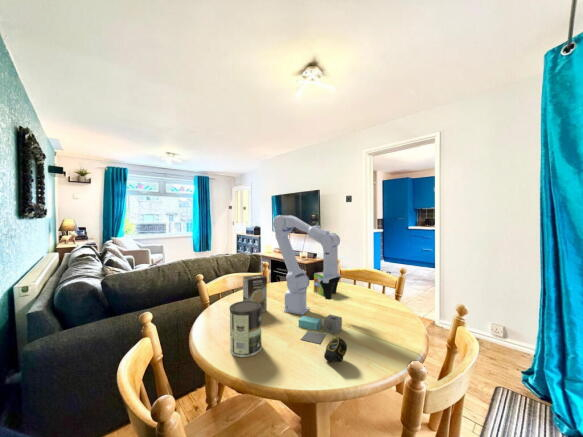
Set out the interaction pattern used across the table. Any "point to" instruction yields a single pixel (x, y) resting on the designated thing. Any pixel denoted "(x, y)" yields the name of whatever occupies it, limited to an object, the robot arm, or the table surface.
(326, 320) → the dice cube
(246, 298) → the coffee box
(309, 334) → the stub pad
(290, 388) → the table surface
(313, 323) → the turquoise box
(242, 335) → the coffee can
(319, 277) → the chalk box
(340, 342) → the tape measure
